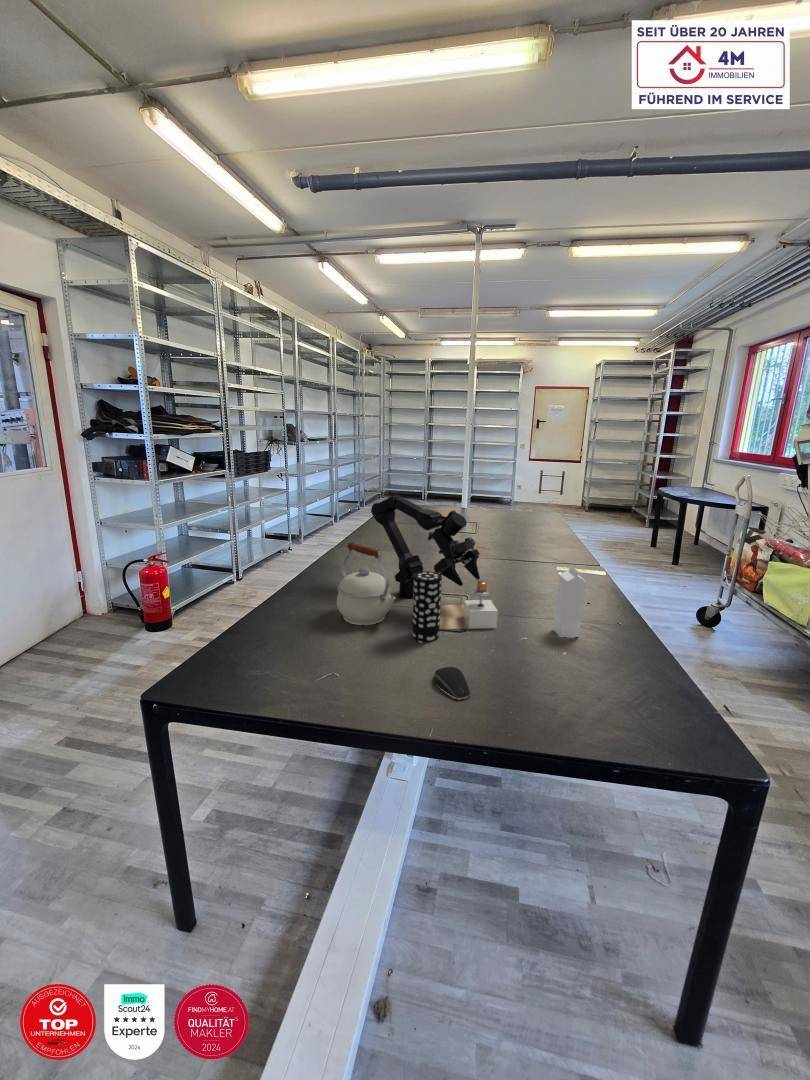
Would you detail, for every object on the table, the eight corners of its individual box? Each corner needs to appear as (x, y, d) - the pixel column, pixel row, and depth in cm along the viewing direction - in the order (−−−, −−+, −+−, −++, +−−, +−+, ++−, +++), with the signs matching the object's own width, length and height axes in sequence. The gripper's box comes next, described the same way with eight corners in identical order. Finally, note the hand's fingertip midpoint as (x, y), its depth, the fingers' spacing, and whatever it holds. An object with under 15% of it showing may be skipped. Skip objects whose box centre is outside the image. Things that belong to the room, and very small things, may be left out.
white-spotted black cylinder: (442, 634, 138) (445, 574, 133) (433, 646, 130) (435, 582, 125) (418, 628, 141) (420, 569, 136) (407, 639, 134) (409, 577, 129)
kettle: (322, 615, 150) (320, 544, 143) (363, 600, 163) (362, 535, 156) (372, 640, 133) (373, 561, 127) (413, 621, 146) (415, 549, 140)
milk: (570, 629, 143) (579, 565, 138) (578, 638, 137) (588, 571, 132) (552, 629, 143) (560, 564, 137) (559, 638, 137) (568, 571, 131)
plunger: (474, 611, 142) (476, 585, 139) (470, 605, 147) (472, 579, 144) (490, 611, 142) (492, 585, 140) (486, 605, 147) (488, 579, 145)
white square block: (468, 628, 141) (470, 611, 139) (463, 616, 150) (464, 600, 148) (496, 628, 142) (497, 610, 140) (489, 616, 150) (490, 599, 149)
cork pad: (437, 630, 140) (437, 628, 140) (430, 606, 159) (430, 604, 159) (496, 629, 142) (496, 628, 142) (482, 605, 160) (482, 604, 160)
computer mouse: (451, 704, 104) (452, 689, 103) (428, 677, 115) (429, 663, 114) (477, 697, 107) (478, 683, 106) (452, 671, 118) (452, 658, 117)
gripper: (441, 534, 139) (468, 576, 134) (477, 526, 151) (502, 564, 147) (422, 553, 146) (447, 593, 141) (457, 543, 159) (481, 580, 154)
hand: (470, 582), depth 146 cm, fingers open, 9 cm apart
